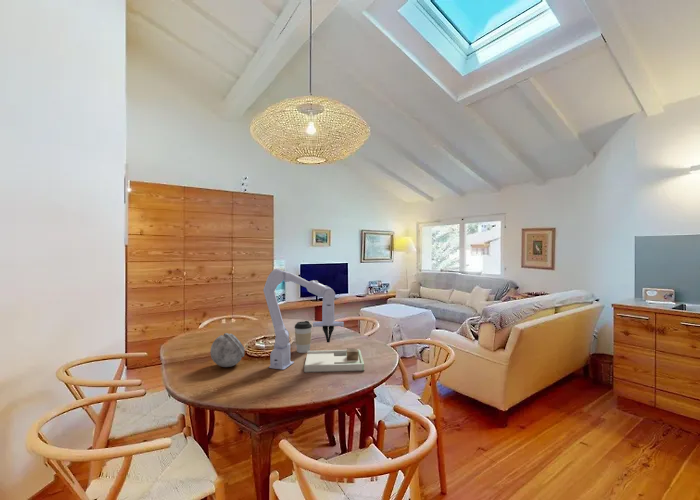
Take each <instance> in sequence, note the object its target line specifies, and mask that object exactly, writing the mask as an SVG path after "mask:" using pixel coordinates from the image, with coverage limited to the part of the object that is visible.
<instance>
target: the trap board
mask: <svg viewBox="0 0 700 500" xmlns="http://www.w3.org/2000/svg"><path fill="white" fill-rule="evenodd" d="M362 355H363V354H362V352H361V349H358V360H351V361H347V349H332V350H331V349H327V350H323V349H322V350H310V351H307V354H306V357H305V358H306V359H305V362H304V365H303V373H305V374H307V373H333V372H334V373H339V372H340V373H342V372H346V373H347V372H364V371H365V363H364V358H363V356H362Z"/></svg>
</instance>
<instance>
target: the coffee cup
mask: <svg viewBox="0 0 700 500" xmlns="http://www.w3.org/2000/svg"><path fill="white" fill-rule="evenodd" d="M293 328H294V336H295V337H294V338H295V345H296V352H297V353H300V354H306V353H307V351H311V343H312V328H313V324H311V323H310V321H309V320H305V321H298V322H296V324H294V327H293Z"/></svg>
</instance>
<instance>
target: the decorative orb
mask: <svg viewBox="0 0 700 500" xmlns="http://www.w3.org/2000/svg"><path fill="white" fill-rule="evenodd" d="M245 351H246V349H245V347H244V345H243V343H242V342H241V341H240V340H239V338H238V337H237V336H236V335H234V333H228V332H225V333H224V334H223V335H222V334H221V335H218V337H216V338H215V340H214V341H213V343H212V344H211V347H210V357H211V360H212V361H213V363H215V364H216V365H217V366H219V367H223V368H231V367H233V366H236V365H237V364H238V363H240V362H241V361H242V358H244V356H245Z"/></svg>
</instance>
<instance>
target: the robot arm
mask: <svg viewBox="0 0 700 500" xmlns="http://www.w3.org/2000/svg"><path fill="white" fill-rule="evenodd" d="M283 281H284V283H287V282H292V283H294V284H296V285H299V286H302V287H304V288H306V290H307V292H309V293H311V294H312V295H315V296H316V297H320V298H322V303H321V304H322V305H321V306H322V307H321V310H322V311H321V312H322V313H321V315H322V316H321V317H322V318H321V320H322V321H313V322H312V328H317V327H319V328H320V327H321V328H322V331H323V333H324V336H325V339H326V343H330V342H331V338H332V334H333V332H334V329H335V327H341V328H344V327H345V326H344V325H345V322H344V321H338V320H337V321H335V298H336V292H335V291H334V289H333V288H331V287H330V286H328V285H324V284H323V283H320V282H319V281H318V280H316V279H315V280H314V279H313V280H310V281H308V280H306V279H305V278H302V277H301V276H299V275H297V274H295V273H293V272H290V271H287V270H282V269H280V268H274V269H272V271H271V272H270V273H269V274H268V276H267V278H266V281H265V285H264V287H263V289H262V290H263V294H264V298H265V301H266V304H267V308H268V312H269V315H270V318H271V322H272V325H273V329H274V335H275V339H274V346H273V349H272V350H271V352H270V354H269V355H270V357H269V358H270V360H269V363H270V365H269V366H268V368H269V369H276V370H283V371H284V370H286V369H288V368H289V367H290V366H291V365H293V364H294V363H295V362H294V360H293V361H291V342H290V331H288V330H287V329H286V326H285V323H284V320H283V316H282V312H281V309H280V306H279V302H278V299H277V296H276V292H275V291H276V289H277V288H278V286H279V285H280V284H281V283H283Z"/></svg>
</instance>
